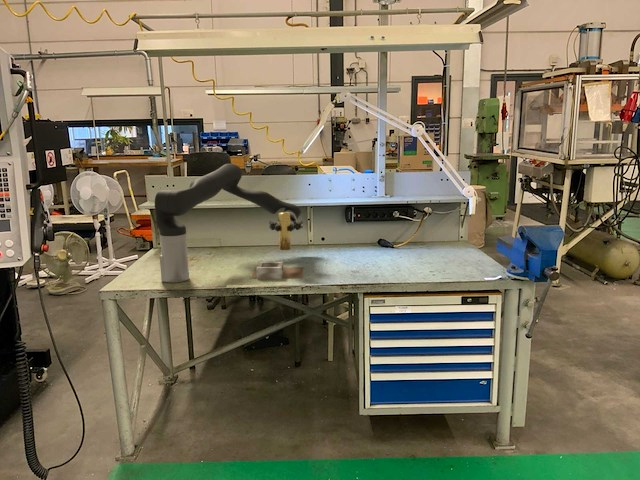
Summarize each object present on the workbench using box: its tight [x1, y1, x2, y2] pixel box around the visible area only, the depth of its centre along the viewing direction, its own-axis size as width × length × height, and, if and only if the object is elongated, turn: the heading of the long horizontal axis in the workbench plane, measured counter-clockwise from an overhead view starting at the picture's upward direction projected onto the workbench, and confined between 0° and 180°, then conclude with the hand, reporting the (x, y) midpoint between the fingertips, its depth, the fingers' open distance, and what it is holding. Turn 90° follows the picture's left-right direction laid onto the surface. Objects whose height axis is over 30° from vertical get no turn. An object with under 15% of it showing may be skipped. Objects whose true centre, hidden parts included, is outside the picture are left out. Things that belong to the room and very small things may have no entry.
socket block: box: [249, 261, 305, 280], centre depth 181 cm, size 19×16×5 cm
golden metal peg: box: [277, 211, 292, 251], centre depth 183 cm, size 4×4×14 cm
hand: (284, 228), depth 180 cm, fingers closed on golden metal peg, 4 cm apart
